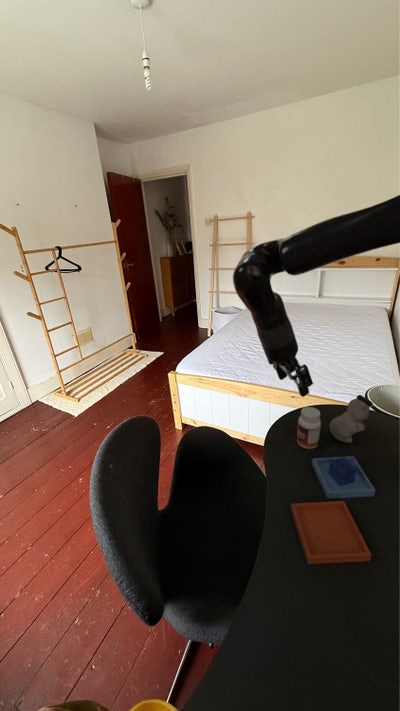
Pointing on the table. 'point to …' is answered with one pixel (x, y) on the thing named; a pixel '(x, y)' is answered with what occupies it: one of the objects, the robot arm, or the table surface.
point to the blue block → (342, 471)
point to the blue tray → (333, 490)
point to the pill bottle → (309, 428)
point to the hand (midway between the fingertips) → (293, 385)
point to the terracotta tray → (329, 533)
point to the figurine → (351, 419)
